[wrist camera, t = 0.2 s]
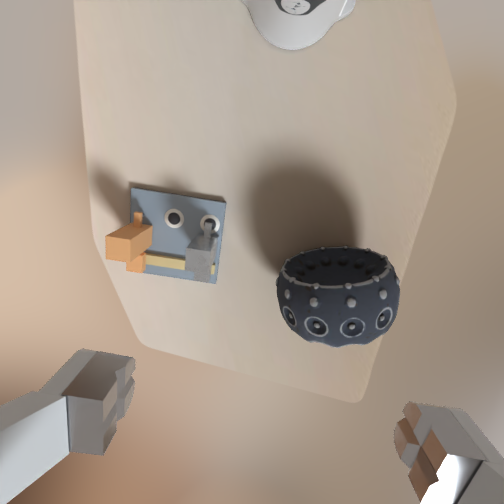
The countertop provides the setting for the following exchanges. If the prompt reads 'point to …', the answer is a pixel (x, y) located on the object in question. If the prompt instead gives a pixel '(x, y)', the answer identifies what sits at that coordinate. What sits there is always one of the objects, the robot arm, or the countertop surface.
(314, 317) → the dark rounded piece
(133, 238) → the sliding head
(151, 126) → the countertop surface
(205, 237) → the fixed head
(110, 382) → the robot arm
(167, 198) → the board
